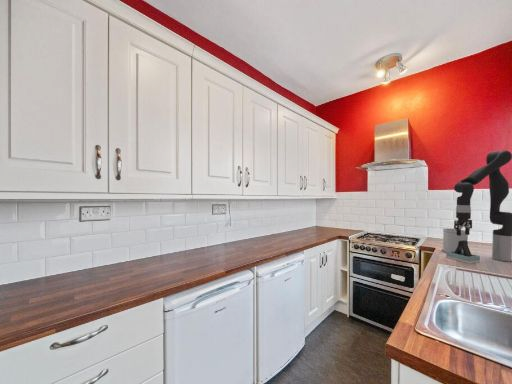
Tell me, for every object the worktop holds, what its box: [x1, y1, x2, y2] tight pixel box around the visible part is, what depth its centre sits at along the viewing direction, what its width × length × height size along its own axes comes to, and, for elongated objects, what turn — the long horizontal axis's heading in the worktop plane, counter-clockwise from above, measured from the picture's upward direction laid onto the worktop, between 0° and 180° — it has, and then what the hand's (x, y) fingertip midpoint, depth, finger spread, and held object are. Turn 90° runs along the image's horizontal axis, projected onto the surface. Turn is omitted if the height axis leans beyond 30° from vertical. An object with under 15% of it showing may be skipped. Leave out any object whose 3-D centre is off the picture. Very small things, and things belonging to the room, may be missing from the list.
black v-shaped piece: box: [454, 240, 472, 257], centre depth 158 cm, size 9×6×12 cm, turn 26°
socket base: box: [445, 251, 481, 264], centre depth 158 cm, size 11×14×4 cm
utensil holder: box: [442, 227, 469, 253], centre depth 177 cm, size 15×15×18 cm
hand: (463, 235), depth 158 cm, fingers open, 8 cm apart
